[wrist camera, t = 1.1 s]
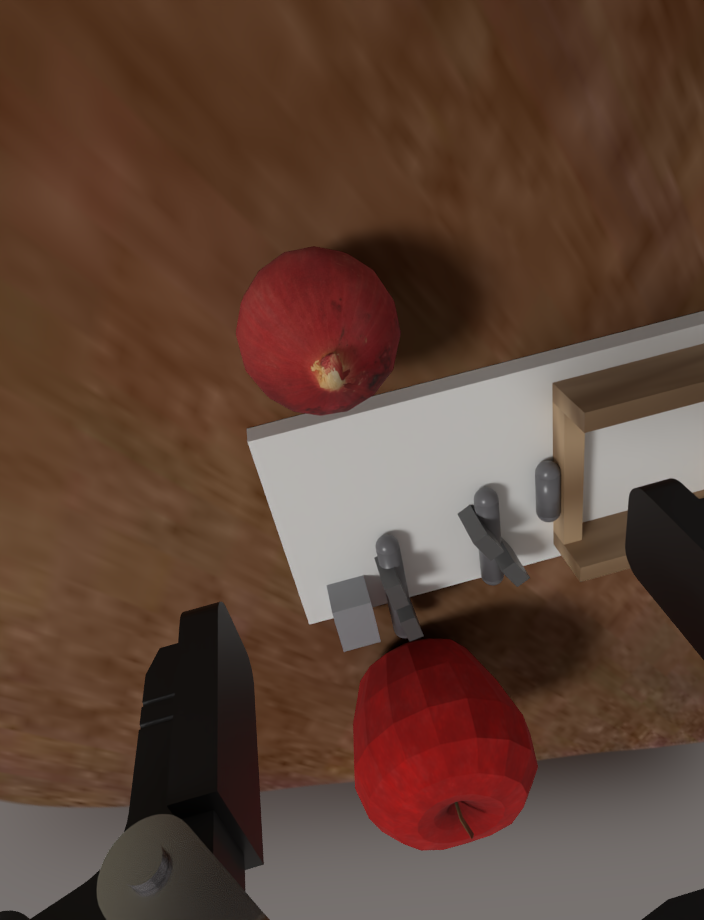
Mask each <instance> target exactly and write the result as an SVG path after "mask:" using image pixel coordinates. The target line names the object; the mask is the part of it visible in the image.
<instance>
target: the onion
mask: <svg viewBox="0 0 704 920" xmlns="http://www.w3.org/2000/svg"><path fill="white" fill-rule="evenodd" d="M400 334H401V331H400V326H399V322H398V317H397V312H396V307H395V302H394V300H393V299H392V297H391V296H390V294H389V293H388V291H387V290H386V288H385V287H384V285H383V284H382V282H381V281H380V279H379V278H378V276H377V275H376V273H375V272H374V270H372V269H371V268H369V267H368V266H366V265H365V264H363V263H361V262H360V261H358V260H357V259H355V258H354V257H352V256H350V255H349V254H347V253H344V252H341V251H336V250H330V249H325V248H320V247H315V246H313V247H308V248H304V249H299V250H294V251H289V252H284V253H283V254H281V255H280V256H278V257H277V258H276V259H274V260H273V261H272V262H270V263H269V264H268V265H266V266H265V267H263V268H262V269H261V270H259V272H258V273H257V275H256V277H255V278H254V280H253V282H252V283H251V285H250V286H249V288H248V290H247V291H246V293H245V295H244V297H243V299H242V302H241V306H240V312H239V318H238V323H237V329H236V336H237V340H238V344H239V348H240V351H241V355H242V359H243V363H244V366H245V370H246V372H247V373H248V374H249V375H250V376H251V378H252V379H253V380H254V381H255V382H256V384H257V385H258V386H259V387H260V388H261V389H262V391H263V392H264V393H265V394H266V395H267V396H268V397H269V398H270V399H272V400H274V401H276V402H278V403H279V404H281V405H283V406H285V407H286V408H288V409H290V410H292V411H294V412H300V413H306V414H312V415H318V416H322V415H328V414H334V413H340V412H347V411H349V410H350V409H352V408H354V407H355V406H357V405H359V404H360V403H362V402H363V401H365V400H367V399H368V398H370V397H372V396H373V395H374V394H375V393H376V391H377V390H378V389H379V387H380V386H381V385H382V384H383V382H384V381H385V380H386V378H387V377H388V376H389V374H390V373H391V372H392V370H393V368H394V362H395V358H396V353H397V348H398V343H399V339H400Z"/></svg>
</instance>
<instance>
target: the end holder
mask: <svg viewBox="0 0 704 920" xmlns="http://www.w3.org/2000/svg"><path fill="white" fill-rule="evenodd" d="M700 402H704V343H703V344H700V345H696V346H692V347H688V348H684V349H680V350H676V351H673V352H669V353H665V354H661V355H657V356H653V357H650V358H646V359H642V360H638V361H634V362H630V363H627V364H623V365H619V366H615V367H611V368H607V369H604V370H600V371H596V372H592V373H588V374H584V375H581V376H577V377H573V378H569V379H565V380H561V381H558V382H554V383H552V405H553V462H555V463H556V464H557V465H558V466H559V468H560V471H561V512H560V516H559V517H558V519H557V520H555V521H554V522H553V544H554V546H555V547H556V549H557V550H558V551H559V553H560V554H561V556H562V557H563V558H564V560H565V561H566V563H567V564H568V565H569V567H570V568H571V570H572V571H573V573H574V574H575V575H576V577H577V578H578V580H579V581H580V582H582V581H586V580H590V579H593V578H597V577H601V576H604V575H608V574H611V573H615V572H619V571H622V570H626V569H629V568H630V565H629V563H628V560H627V556H626V552H625V539H626V526H627V513H628V510H627V511H623V512H620V513H616V514H612V515H609V516H605V517H601V518H598V519H594V520H590V521H587V522H583V523H582V520H583V484H584V448H585V433H587V432H591V431H594V430H598V429H602V428H606V427H609V426H613V425H617V424H621V423H625V422H628V421H632V420H636V419H640V418H643V417H647V416H651V415H655V414H658V413H662V412H666V411H670V410H674V409H677V408H681V407H685V406H689V405H692V404H696V403H700ZM693 494H694V495H695V496H696V497H698V498H699V499H701V498H704V490H700V491H697V492H693Z"/></svg>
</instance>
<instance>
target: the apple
mask: <svg viewBox="0 0 704 920" xmlns="http://www.w3.org/2000/svg"><path fill="white" fill-rule="evenodd" d="M353 733H354V770H355V789H356V791H357V793H358V795H359V798H360V800H361V802H362V804H363V806H364V808H365V810H366V813H367V815H368V817H369V819H370V820H371V821H372V822H373V823H374V824H375V825H376V826H377V827H378V828H379V829H380V830H381V831H382V832H384V833H385V834H387V835H389V836H391V837H392V838H394V839H396V840H398V841H399V842H401V843H403V844H405V845H408V846H411V847H413V848H416V849H419V850H444V849H448V848H451V847H455V846H458V845H462V844H466V843H469V842H472V841H475V840H478V839H480V838H484V837H487V836H490V835H492V834H494V833H496V832H498V831H499V830H501V829H503V828H505V827H507V826H508V825H510V824H512V823H513V821H514V820H515V818H516V817H517V816H518V814H519V813H520V812H521V810H522V809H523V807H524V804H525V802H526V799H527V797H528V794H529V791H530V789H531V786H532V783H533V780H534V777H535V774H536V771H537V768H538V765H537V761H536V757H535V752H534V748H533V744H532V740H531V735H530V732H529V730H528V727H527V725H526V722H525V719H524V717H523V715H522V713H521V712H520V711H519V709H518V708H517V707H516V705H515V704H514V703H513V701H512V700H511V699H510V697H509V696H508V695H507V693H506V692H505V691H504V689H503V688H502V687H501V685H500V684H499V683H498V681H497V680H496V679H495V678H494V677H493V676H492V675H491V674H490V673H489V671H488V670H487V669H486V668H485V667H484V666H483V665H482V664H481V663H480V662H479V661H478V660H477V659H476V658H475V657H474V656H473V655H472V654H471V653H470V652H469V651H468V650H467V649H466V648H465V647H464V646H462V645H460V644H458V643H456V642H455V641H453V640H451V639H422V640H416V641H412V642H408V643H405V644H403V645H401V646H399V647H397V648H395V649H393V650H392V651H390V652H388V653H386V654H385V655H384V656H382V657H381V658H380V659H379V660H377V661H376V662H375V663H374V664H372V665H371V666H370V667H369V669H368V670H367V672H366V673H365V675H364V676H363V678H362V679H361V681H360V686H359V692H358V698H357V704H356V710H355V716H354V722H353Z"/></svg>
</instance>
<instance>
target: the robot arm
mask: <svg viewBox="0 0 704 920" xmlns="http://www.w3.org/2000/svg"><path fill="white" fill-rule="evenodd" d="M625 552H626V556H627V560H628V563H629V565H630V568H631V570H632V571H633V573H634V575H635V576H636V578H637V579H638V580H639V581H640V583H641V584H642V585H643V586H644V588H645V589H646V590H647V591H648V592H649V594H650V595H651V596H652V597H653V599H654V600H655V601H656V602H657V603H658V605H659V606H660V607H661V608H662V610H663V611H664V612H665V613H666V614H667V616H668V617H669V618H670V619H671V621H672V622H673V623H674V624H675V625H676V627H677V628H678V629H679V630H680V632H681V633H682V634H683V635H684V637H685V638H686V639H687V640H688V641H689V643H690V644H691V645H692V646H693V648H694V649H695V650H696V651H697V652H698V654H699V655H700V656H701V657H702V659H703V660H704V498H701V499H699V498H698V497H696V496H695V495H694V494H693V493H692V492H691V491H690V490H689V489H688V488H686V487H685V486H684V485H683V484H682V483H681V482H680V481H678V480H676V479H673V478H669V479H666V480H662V481H659V482H655V483H651V484H648V485H644V486H641V487H637V488H634V489H632V490H631V492H630V494H629V500H628V513H627V526H626V539H625ZM142 702H143V707H142V709H141V718H140V727H141V729H140V730H139V734H138V742H137V750H136V758H135V766H134V775H133V783H132V791H131V799H130V807H129V815H128V820H127V824H126V827H125V831H124V833H123V834H122V835H121V836H120V837H119V838H118V839H117V840H116V842H115V843H114V844H113V846H112V847H111V849H110V850H109V852H108V854H107V855H106V857H105V859H104V861H103V864H102V866H101V869H100V870H99V871H98V872H97V873H96V874H95V875H94V876H93V877H92V878H90V879H89V880H88V881H87V882H85V883H84V884H83V885H81V886H80V887H78V888H77V889H75V890H74V891H72V892H71V893H69V894H68V895H66V896H65V897H63V898H61V899H60V900H59V901H57V902H55V903H54V904H52V905H51V906H49V907H48V908H47V909H45V910H43V911H42V912H40V913H39V914H37V915H36V916H34V917H33V918H31V919H29V918H28V917H27V916H25V915H24V914H22V913H20V912H16V911H2V912H0V920H269V919H268V917H267V916H266V915H265V914H264V913H263V912H262V911H261V909H260V908H259V907H258V906H257V905H256V903H255V902H254V901H253V900H252V899H251V898H250V897H249V895H248V894H247V893H246V892H245V870H246V869H250V868H253V867H257V866H260V865H263V864H264V862H263V843H262V824H261V807H260V788H259V769H258V751H257V732H256V714H255V696H254V681H253V674H252V669H251V665H250V661H249V658H248V655H247V652H246V650H245V647H244V645H243V643H242V641H241V639H240V637H239V634H238V632H237V630H236V628H235V626H234V624H233V621H232V619H231V617H230V615H229V613H228V611H227V608H226V607H225V605H224V603H223V602H218V603H214V604H211V605H207V606H203V607H200V608H196V609H193V610H189V611H185V612H183V613H182V614H181V617H180V627H179V640H178V643H177V644H173V645H170V646H166V647H163V648H160V649H159V651H158V653H157V655H156V656H155V658H154V660H153V662H152V664H151V666H150V668H149V670H148V672H147V673H146V677H145V685H144V693H143V701H142ZM642 920H704V889H701V890H697V891H695V892H691V893H688V894H684V895H681V896H678V897H675V898H671V899H668V900H667V901H666V902H664V903H663V904H662V905H660V906H659V907H658V908H656V909H655V910H654V911H653V912H651V913H650V914H649V915H647V916H646V917H645V918H643V919H642Z"/></svg>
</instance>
